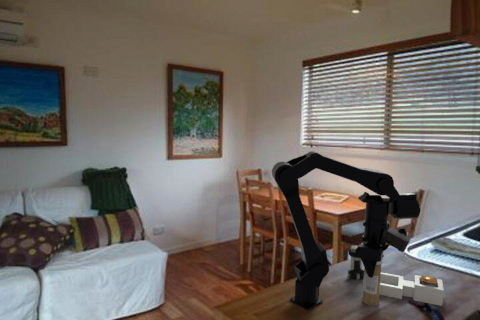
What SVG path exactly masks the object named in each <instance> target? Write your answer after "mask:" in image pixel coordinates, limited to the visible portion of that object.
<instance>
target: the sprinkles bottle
mask: <svg viewBox="0 0 480 320" xmlns="http://www.w3.org/2000/svg"><path fill="white" fill-rule="evenodd" d="M382 264H383V259H382V260H381V261H380V262H377V264H376V268H375V272H374V275H373V278H370V277H368V275H367V272H366V270H365V267H364V268H363V270H364V278H363V279H362V280H363V283H362V298H361V301H362V302H363V303H364V304H366V305H368V306H378V305H379V304H380V295H379V293H380V278H381V272H382Z"/></svg>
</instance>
